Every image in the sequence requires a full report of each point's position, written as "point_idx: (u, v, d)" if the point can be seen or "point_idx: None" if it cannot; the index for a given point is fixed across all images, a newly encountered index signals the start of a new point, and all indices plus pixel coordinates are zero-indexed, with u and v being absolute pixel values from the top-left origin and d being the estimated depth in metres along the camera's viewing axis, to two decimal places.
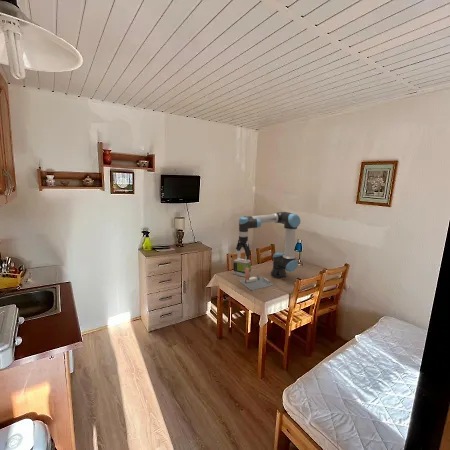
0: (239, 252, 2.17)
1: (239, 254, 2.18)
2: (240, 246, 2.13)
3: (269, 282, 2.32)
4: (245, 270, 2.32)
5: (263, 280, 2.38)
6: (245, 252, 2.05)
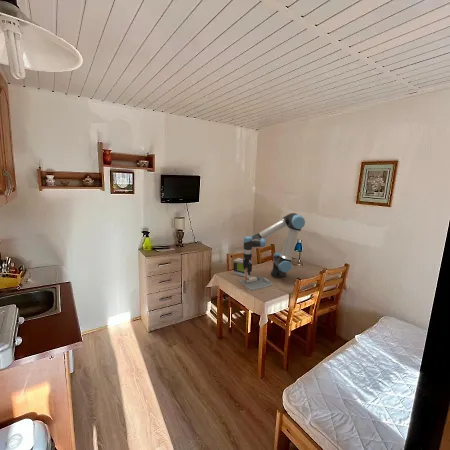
0: None
1: None
2: (245, 263, 2.33)
3: (269, 282, 2.32)
4: (245, 270, 2.32)
5: (263, 280, 2.38)
6: (247, 268, 2.30)
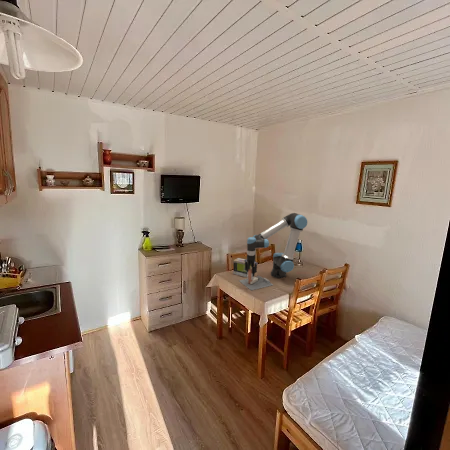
0: None
1: None
2: (249, 265, 2.29)
3: (269, 282, 2.32)
4: (249, 272, 2.28)
5: (263, 280, 2.38)
6: (252, 269, 2.27)
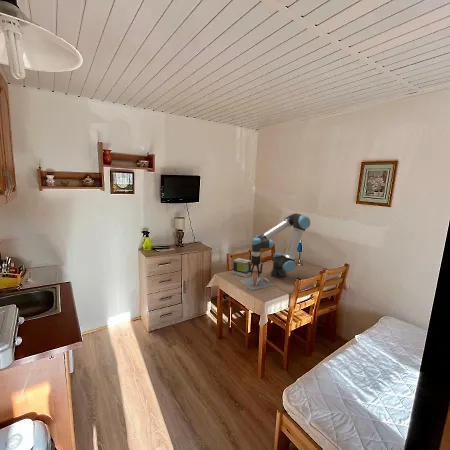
0: None
1: None
2: (253, 266, 2.26)
3: (269, 282, 2.32)
4: (254, 273, 2.25)
5: (263, 280, 2.38)
6: (257, 270, 2.25)
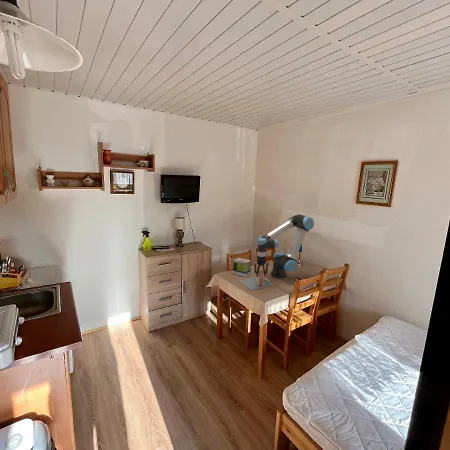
0: (258, 274, 2.27)
1: (258, 276, 2.27)
2: (259, 266, 2.24)
3: (269, 282, 2.32)
4: (261, 274, 2.24)
5: None
6: (263, 270, 2.25)
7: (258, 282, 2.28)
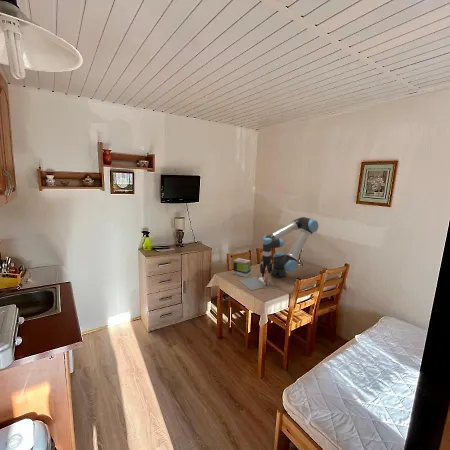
0: None
1: None
2: (265, 266, 2.25)
3: (269, 282, 2.32)
4: (267, 273, 2.26)
5: None
6: (269, 269, 2.27)
7: (264, 282, 2.28)
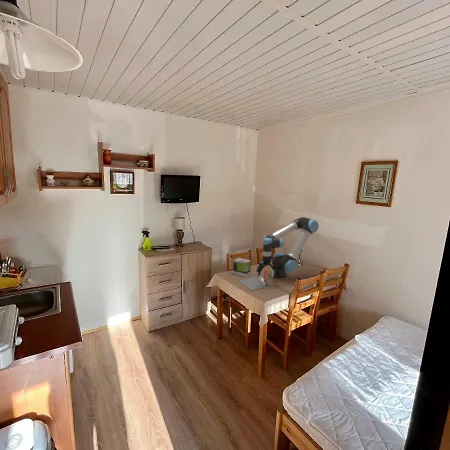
0: None
1: None
2: (264, 266, 2.24)
3: (269, 282, 2.32)
4: (267, 273, 2.26)
5: None
6: (272, 267, 2.28)
7: (264, 282, 2.28)
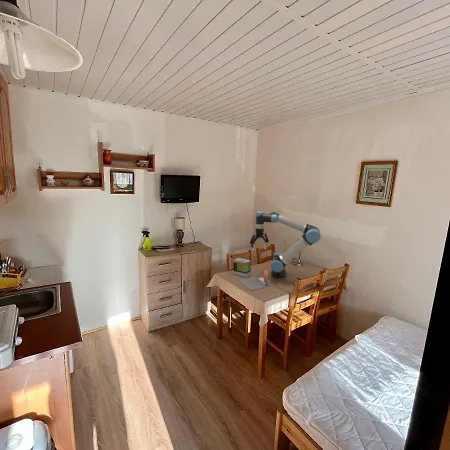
0: None
1: None
2: (256, 238, 2.34)
3: (269, 282, 2.32)
4: (267, 273, 2.26)
5: None
6: (265, 240, 2.38)
7: (264, 282, 2.28)
